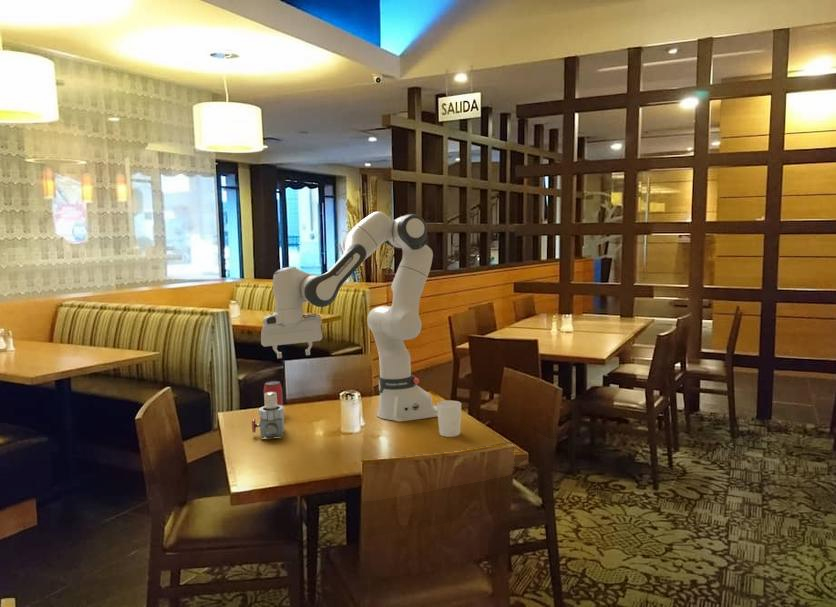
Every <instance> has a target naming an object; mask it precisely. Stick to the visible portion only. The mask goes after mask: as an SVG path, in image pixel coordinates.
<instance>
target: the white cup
mask: <svg viewBox="0 0 836 607" xmlns="http://www.w3.org/2000/svg"><path fill="white" fill-rule="evenodd" d="M436 407H437V413H438V416H437V422H438V423H437V425H438V430H439V431H438V432H439V435H440V436H441V437H444V436H445V438H447V437H448V438H452V437H453V438H454V437H458V436H460V435H461V426H462V402H460V401H458V400H441V401H438V402H437V403H436Z"/></svg>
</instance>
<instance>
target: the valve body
mask: <svg viewBox="0 0 836 607" xmlns="http://www.w3.org/2000/svg"><path fill="white" fill-rule="evenodd" d="M284 407H285V406H284V405H283V406H281V405H277V408H278V409H277V410H270V411H267V410H265V405H264V406H261V407H259V409H258V418H259V420H260V421H259V423H257V422H256V418H252V419H251V429H252V430H251V431H252V433H256V432H257V428H259V429H260V430H259V432H260V439H261V438H264V437H266V438H274V437H283V438H284V435H283V432H285V420H284V419H285V408H284Z"/></svg>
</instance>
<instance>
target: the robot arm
mask: <svg viewBox="0 0 836 607" xmlns="http://www.w3.org/2000/svg"><path fill="white" fill-rule="evenodd" d="M427 234H428V226H427V222H426V221H425V219H424V218H423V217H421V216H420V215H417V214H415V213H409V214H405V215H402V216H399V217H397V218H395V219H392V218H390V216H388V215H387V214H386V213H385V212H382V211H380V210H379V211H378V210H377V211H374V212H372V213H369V215H367V216H366V217H364V218H362V219H361V220H360V221H359V222H358V223H356V224H355V226H354V227H353V228H351V229H350V231H348V233H347V234H346V235H345V237H344V238H343V241H342V248H343V254H342V256H341V257H340V258H339V259H338V260H337V261H336V263H335V264H333V265H332V266H331V268H329V270H328V271H327V272H325V273H323V274H320V275H318V274H313V273H309V272H305V271H303V270H301V269H299V268H297V267H296V266H287V267H286V266H285V267H283V268H279V269H277V270H276V271H275V272H274V274H273V277H272V289H273V297H274V300H275V305H274V309H275V312H272V313H269V314H267V315H265V316H264V317H263V319H262V323H263V325H262V327H261V332H260V343H261V346H263V347H272V350H273V351H274V353H275V354H276V357H277V359H282V358H283V355H282V351H279V350H278V346H282V345H284V346H285V345H292V344H301V343H302V344H303V343H307V345H308V347H307V348H306V349H304V350H305V351H304V352H305V356H310V355H311V349H312V347H313V342H320V341H322V339H323V333H322V328H321V326H322V325H323V321H322V320H323V319H322V316H321V315H319V314H318V313H311V314H310V313H306V314H304V311H303V303H308V304H311V305H313V306H315V307H319V308H325V307H328V306H329V305H330V306H331V305H332V303H333V302H334V301H335V300H336V298H337V297H338V296H337V295H338V293H339V291H340V290H341V287H342V286H343V285H344V284H345V282H346V281H348V279H349V278H350V276H352V275H353V273H354V272H355V271H357V269H358V268H359V267H360V266H361V264H363V262H365V260H366V259H368V258H369V257H371V255H373V254H374V253H375V251H376V250H377V249H378V248H379V247H381V245H382V244H384V243H386V244H387V245H389V246H390V247H392V248H394V249H398V250H402V256H401V261H400V263H399V265H398V267H397V270H396V273H395V276H394V277H393V280H392V283H391V285H390V287H391V288H390V289H391V291H392V303H391V305H390V306H389V305H381V306H380V305H379V306H377V307H374V308H372V309H371V310H370V311H369V312H368V314H367V318H366V322H367V326H368V328H369V330H370V331H371V333H372V335H373V338H374V342H375V345H376V348H377V353H378V357H379V358H378V359H379V360H378V361H379V362H378V364H379V377H378V391H379V401H378V402H379V404H378V409H377V414H376V415H377V417H378V418H381V419H383V420H389V421H395V422H399V423H401V422H409V421H414V420H422V419H429V418H436V417H437V418H438V413H437V405H435V404H434V402H433V398H432V396H431V394H429V392H427V391H426V390H425V389H424V388H422V387H420V386H419V385H418V384H419V383H420V379H419V378H418V377H416V376H415V375H413V374H412V372H411V369H412V368H411V354H410V352H409V349H407V347H406V344H405V342H404V341H407V340H414V339H415V338H417V337H418V335H419V334H420V332H421V330H422V326H423V325H422V319H421V317H420V314H419V312H420V311H419V308H420V301H421V296H422V293H423V290H424V288H425V285H426V282H427V279H428V277H429V274H430V271H431V267H432V263H433V258H434V254H433V250H432V248H431V247H429V245H427V243H428V235H427Z"/></svg>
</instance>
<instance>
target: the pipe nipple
mask: <svg viewBox="0 0 836 607" xmlns="http://www.w3.org/2000/svg"><path fill="white" fill-rule="evenodd" d="M264 399H265V404H264V406H265V410H267V411H270V410H277V409H278V408H277V393H276V392H267V393H264V392H263V400H264Z"/></svg>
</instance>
